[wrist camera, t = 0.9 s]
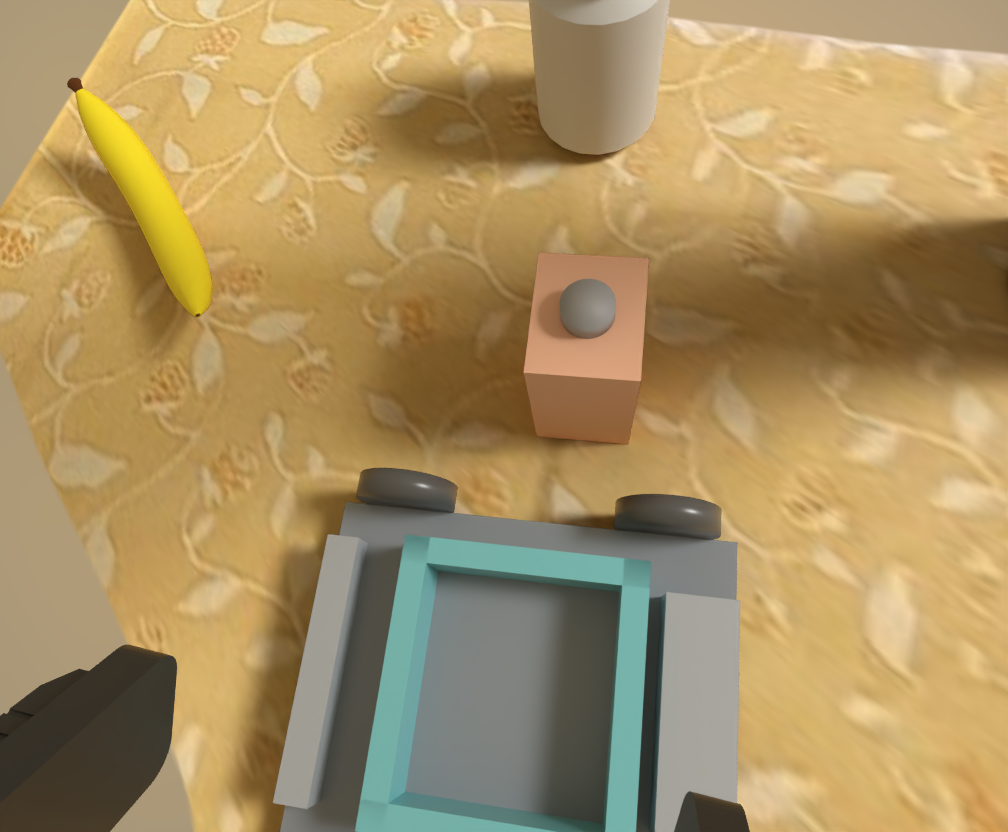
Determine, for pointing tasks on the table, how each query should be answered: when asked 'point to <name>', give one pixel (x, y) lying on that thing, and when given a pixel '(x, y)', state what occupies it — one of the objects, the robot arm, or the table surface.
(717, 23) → the table surface
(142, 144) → the banana
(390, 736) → the chassis
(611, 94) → the can
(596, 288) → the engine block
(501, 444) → the table surface
